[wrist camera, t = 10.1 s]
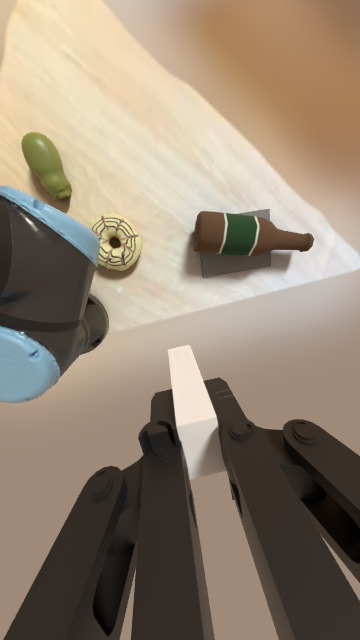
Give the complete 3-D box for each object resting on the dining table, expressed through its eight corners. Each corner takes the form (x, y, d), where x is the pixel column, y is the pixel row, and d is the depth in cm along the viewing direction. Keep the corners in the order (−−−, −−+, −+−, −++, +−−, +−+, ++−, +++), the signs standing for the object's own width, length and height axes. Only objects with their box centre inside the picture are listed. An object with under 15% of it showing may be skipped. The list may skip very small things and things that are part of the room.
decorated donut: (131, 277, 45) (128, 279, 41) (84, 255, 43) (77, 255, 39) (149, 233, 42) (148, 230, 39) (101, 207, 40) (95, 202, 37)
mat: (203, 277, 46) (203, 277, 45) (196, 220, 42) (196, 220, 42) (269, 265, 47) (270, 265, 46) (268, 209, 43) (269, 208, 43)
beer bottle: (201, 200, 36) (322, 214, 38) (194, 225, 44) (295, 235, 46) (200, 240, 35) (324, 252, 38) (193, 259, 43) (296, 267, 45)
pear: (40, 122, 31) (72, 193, 36) (54, 135, 36) (81, 197, 41) (6, 132, 31) (42, 202, 36) (25, 144, 36) (54, 205, 41)
